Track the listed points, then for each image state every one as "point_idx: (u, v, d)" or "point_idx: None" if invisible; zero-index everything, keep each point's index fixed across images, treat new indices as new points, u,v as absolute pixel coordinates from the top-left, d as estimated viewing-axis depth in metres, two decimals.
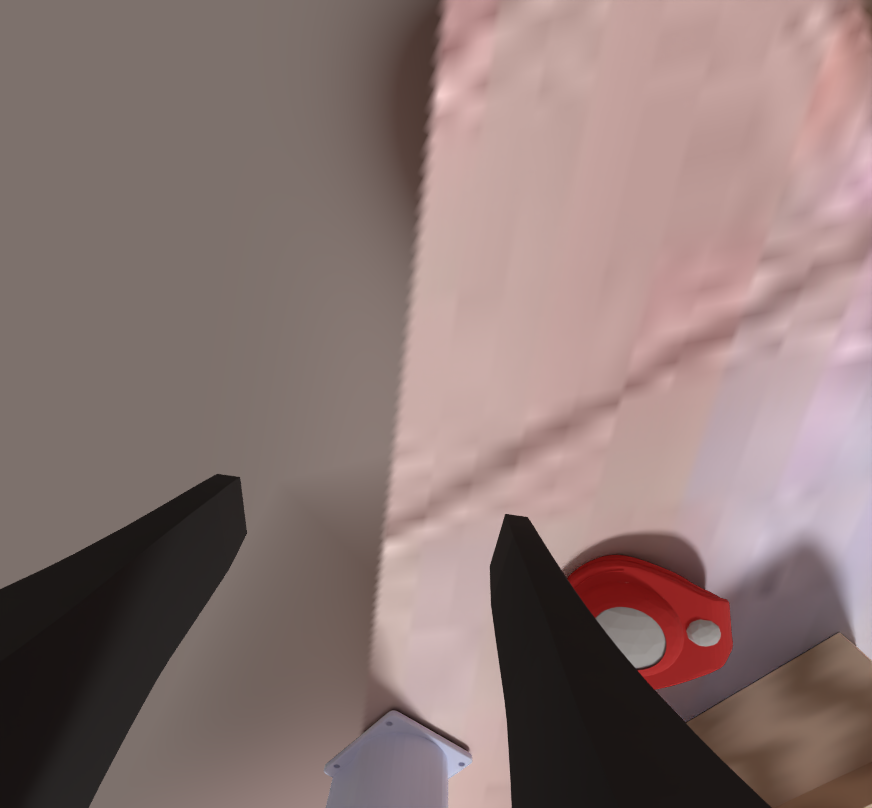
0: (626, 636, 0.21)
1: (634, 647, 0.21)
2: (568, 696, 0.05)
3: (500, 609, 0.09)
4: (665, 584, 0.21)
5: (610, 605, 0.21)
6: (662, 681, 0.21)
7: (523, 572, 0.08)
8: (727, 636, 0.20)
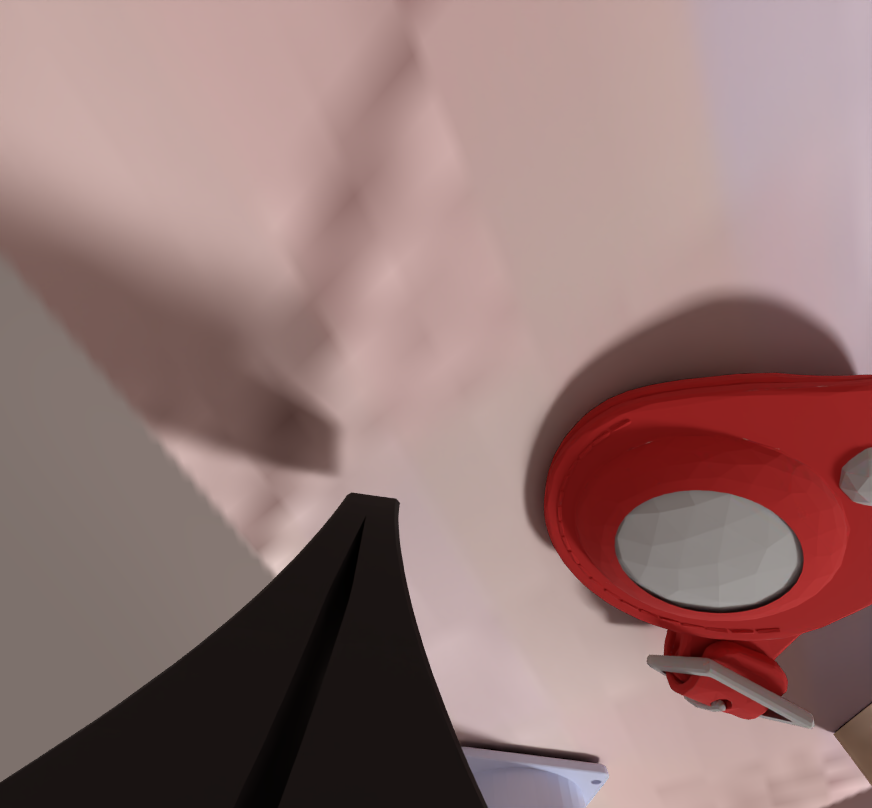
0: (695, 552, 0.09)
1: (723, 568, 0.09)
2: None
3: None
4: (736, 407, 0.08)
5: (631, 503, 0.09)
6: (830, 608, 0.09)
7: (360, 549, 0.08)
8: None
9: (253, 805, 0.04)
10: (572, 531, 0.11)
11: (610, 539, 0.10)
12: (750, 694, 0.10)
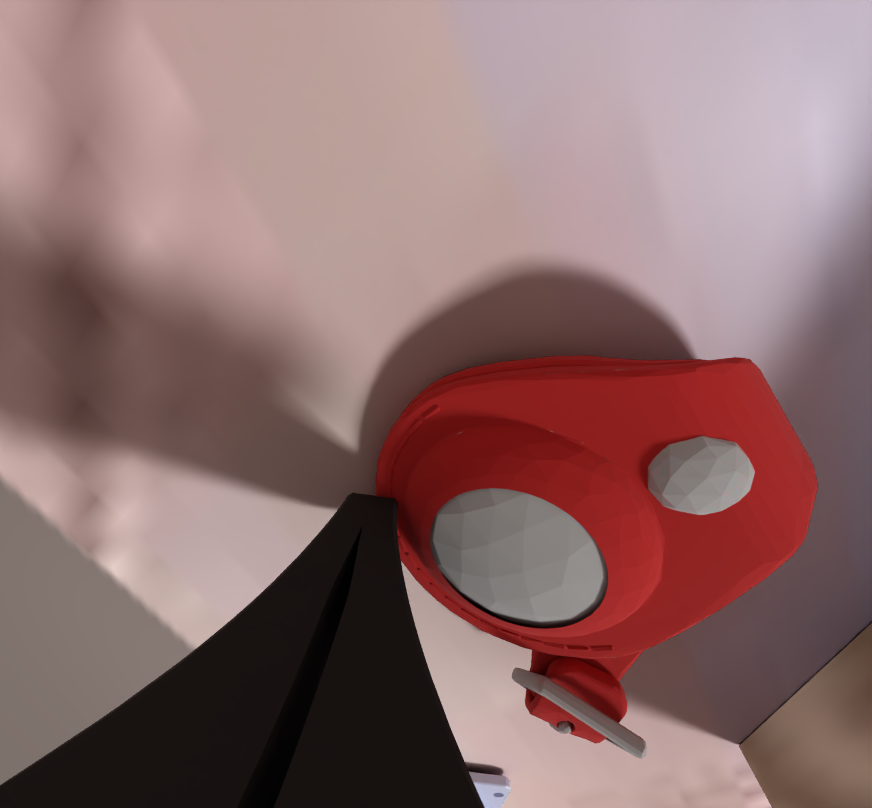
0: (500, 560, 0.08)
1: (529, 579, 0.08)
2: None
3: None
4: (536, 393, 0.07)
5: (439, 501, 0.08)
6: (657, 626, 0.08)
7: (358, 549, 0.08)
8: (778, 459, 0.07)
9: (256, 805, 0.04)
10: (406, 531, 0.10)
11: (427, 542, 0.09)
12: (582, 718, 0.09)
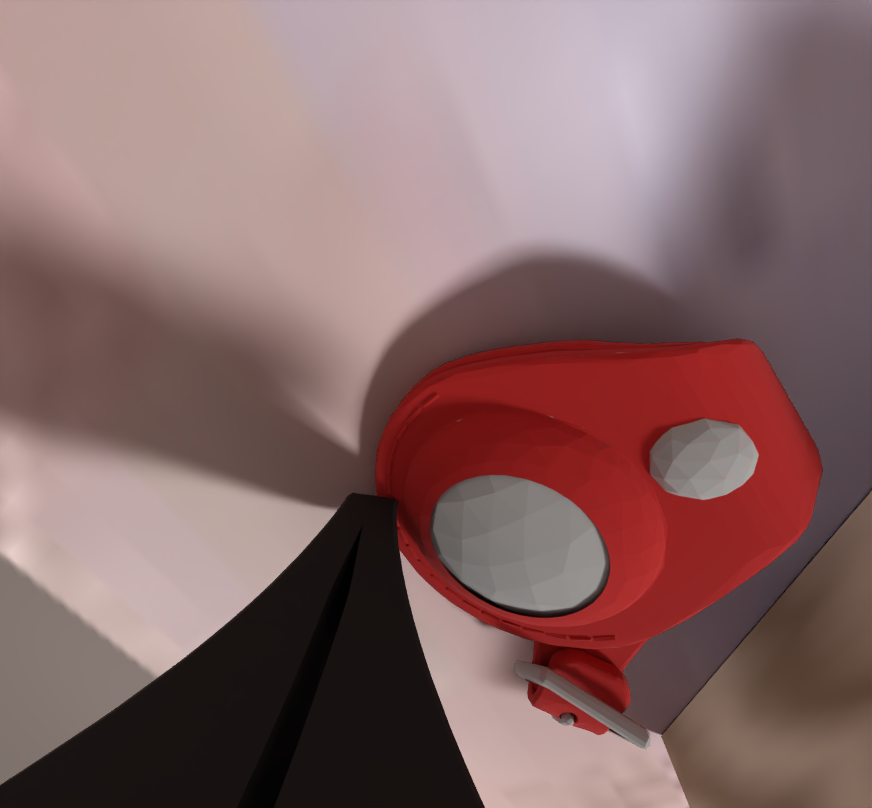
0: (501, 548, 0.08)
1: (530, 566, 0.08)
2: None
3: None
4: (536, 378, 0.07)
5: (439, 489, 0.08)
6: (660, 614, 0.08)
7: (358, 549, 0.08)
8: (783, 441, 0.06)
9: (256, 805, 0.04)
10: (406, 522, 0.10)
11: (427, 531, 0.09)
12: (585, 709, 0.09)
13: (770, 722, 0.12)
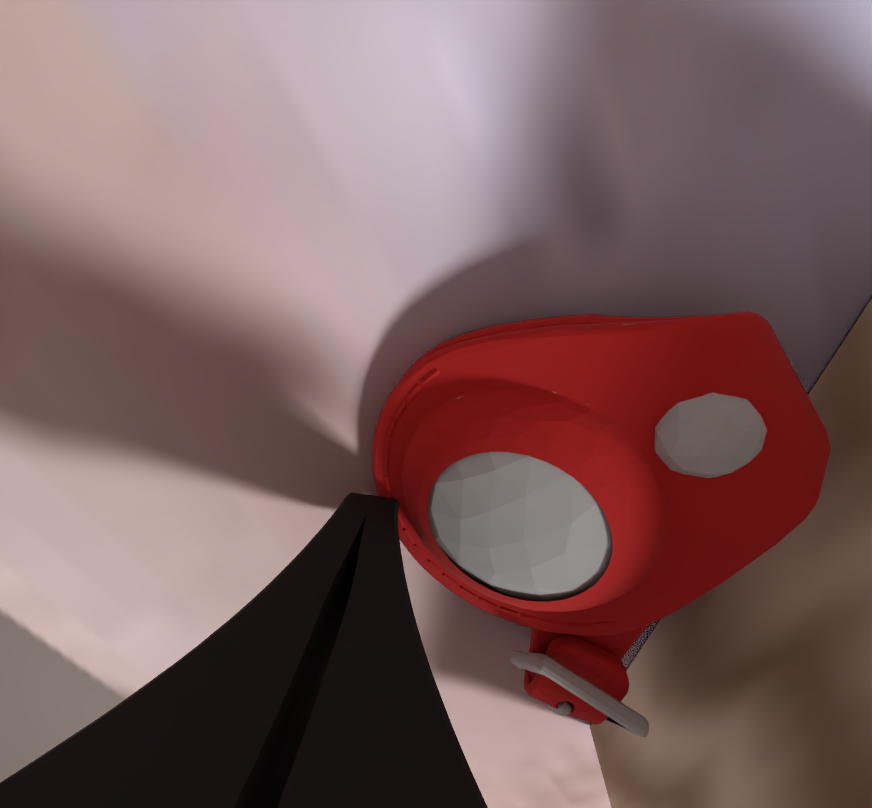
0: (500, 528, 0.08)
1: (530, 547, 0.07)
2: None
3: None
4: (540, 352, 0.07)
5: (438, 468, 0.08)
6: (661, 599, 0.08)
7: (360, 549, 0.08)
8: (792, 418, 0.06)
9: (254, 805, 0.04)
10: (403, 506, 0.10)
11: (425, 513, 0.09)
12: (583, 696, 0.09)
13: (672, 709, 0.12)
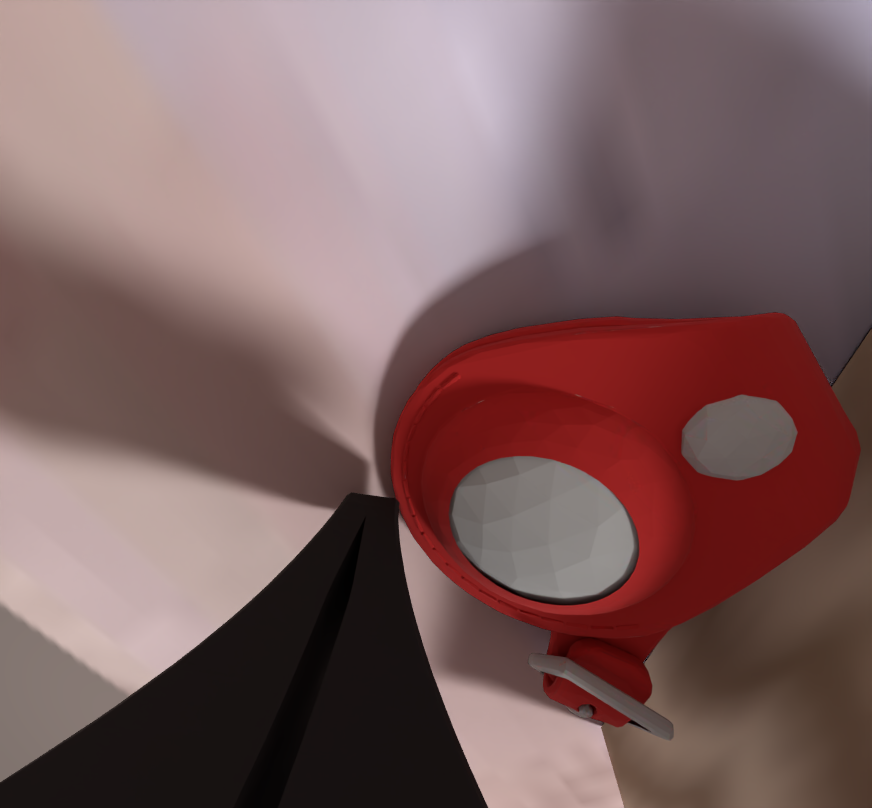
0: (524, 533, 0.08)
1: (555, 551, 0.07)
2: None
3: None
4: (564, 355, 0.07)
5: (460, 473, 0.08)
6: (687, 602, 0.08)
7: (360, 549, 0.08)
8: (822, 419, 0.06)
9: (253, 805, 0.04)
10: (421, 510, 0.10)
11: (446, 517, 0.09)
12: (606, 700, 0.09)
13: (687, 710, 0.12)
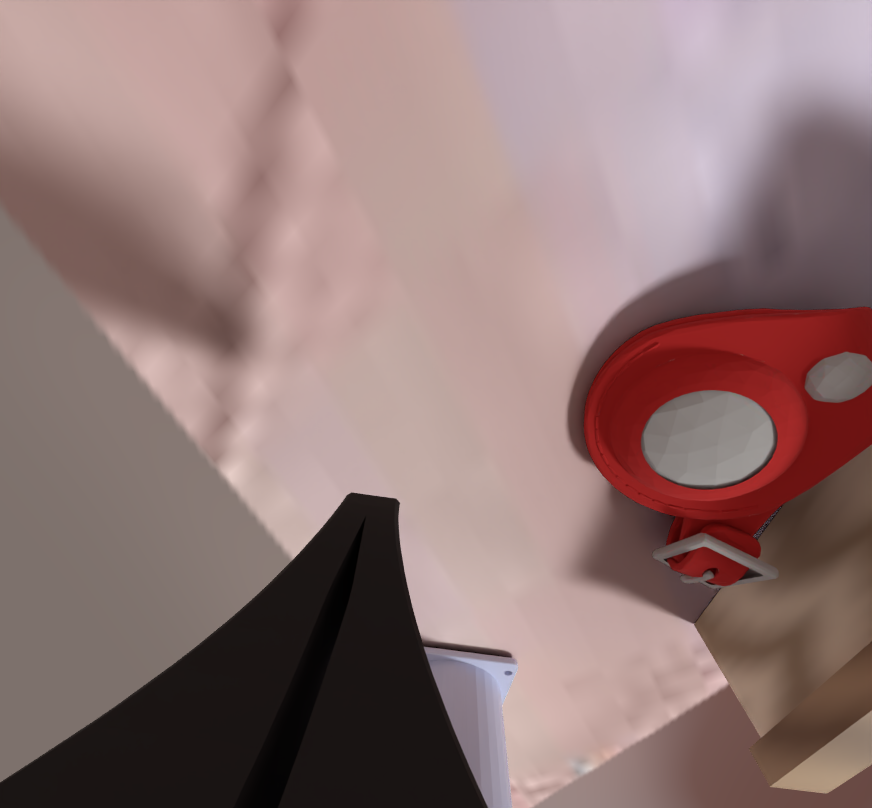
0: (701, 439, 0.12)
1: (720, 449, 0.12)
2: None
3: None
4: (736, 330, 0.12)
5: (656, 404, 0.13)
6: (794, 485, 0.13)
7: (360, 549, 0.08)
8: None
9: (253, 805, 0.04)
10: (605, 437, 0.15)
11: (637, 435, 0.14)
12: (733, 555, 0.14)
13: (779, 586, 0.17)
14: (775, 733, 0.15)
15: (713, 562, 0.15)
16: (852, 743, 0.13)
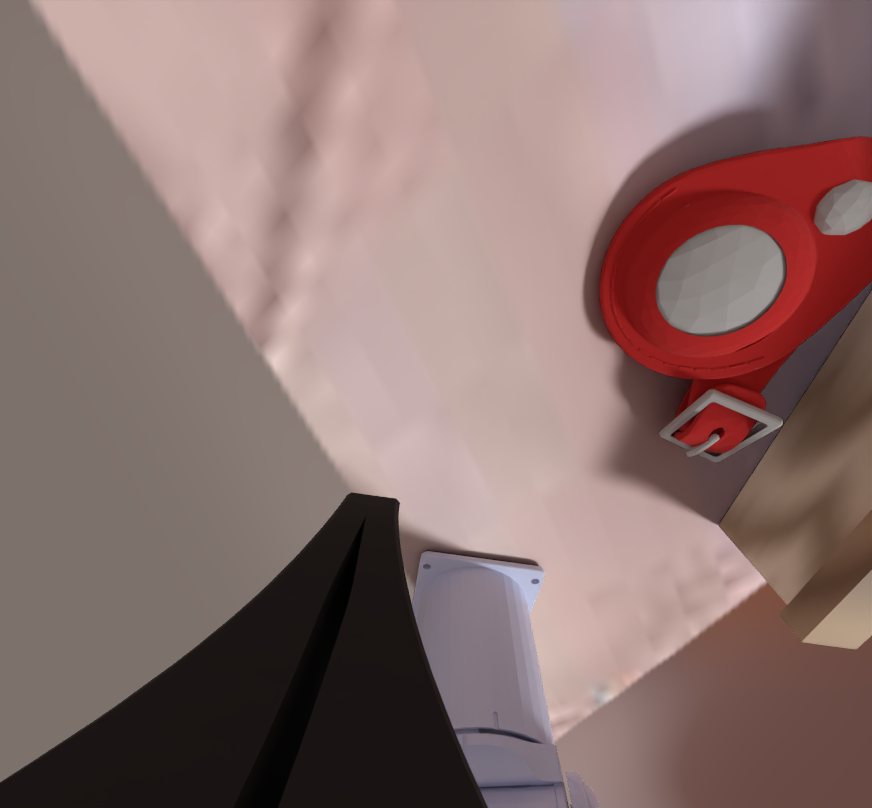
0: (714, 278, 0.13)
1: (732, 287, 0.13)
2: None
3: None
4: (751, 166, 0.12)
5: (672, 248, 0.13)
6: (800, 330, 0.14)
7: (360, 549, 0.08)
8: None
9: (253, 805, 0.04)
10: (620, 298, 0.15)
11: (652, 285, 0.14)
12: (740, 407, 0.15)
13: (806, 462, 0.17)
14: (805, 591, 0.16)
15: (719, 421, 0.15)
16: None
